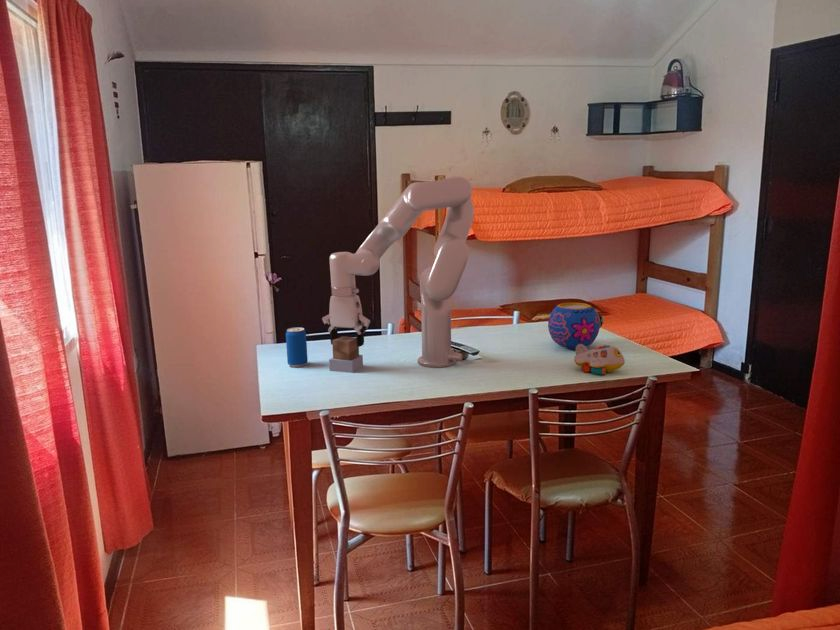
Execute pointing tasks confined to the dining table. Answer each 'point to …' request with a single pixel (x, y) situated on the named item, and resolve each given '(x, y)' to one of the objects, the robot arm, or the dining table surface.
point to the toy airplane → (598, 359)
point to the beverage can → (296, 347)
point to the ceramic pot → (574, 324)
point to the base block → (346, 364)
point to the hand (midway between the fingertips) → (347, 344)
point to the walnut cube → (345, 348)
